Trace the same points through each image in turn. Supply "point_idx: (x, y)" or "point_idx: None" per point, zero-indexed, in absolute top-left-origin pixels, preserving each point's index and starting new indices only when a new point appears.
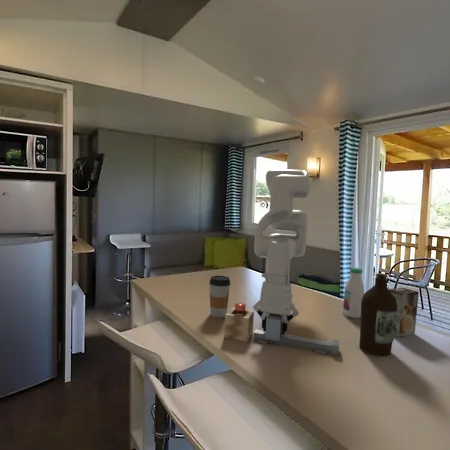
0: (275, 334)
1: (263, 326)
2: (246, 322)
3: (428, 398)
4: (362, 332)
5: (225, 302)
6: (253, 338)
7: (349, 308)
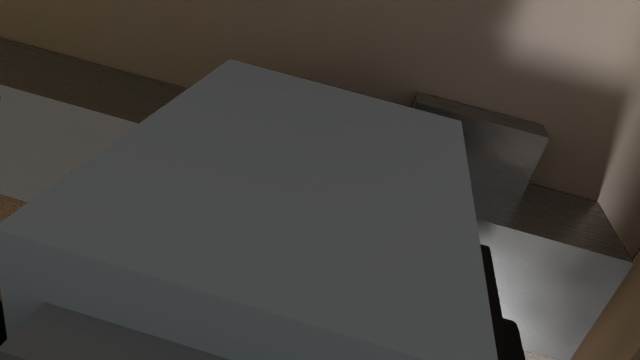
0: (275, 94)
1: (498, 301)
2: None
3: None
4: None
5: None
6: (603, 211)
7: None
